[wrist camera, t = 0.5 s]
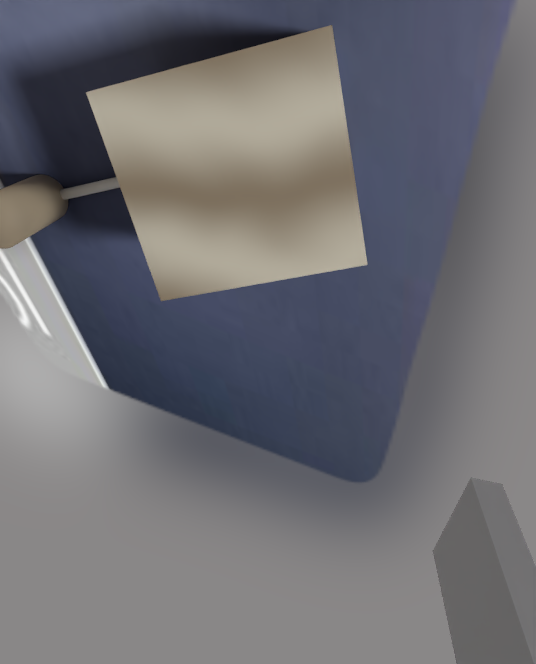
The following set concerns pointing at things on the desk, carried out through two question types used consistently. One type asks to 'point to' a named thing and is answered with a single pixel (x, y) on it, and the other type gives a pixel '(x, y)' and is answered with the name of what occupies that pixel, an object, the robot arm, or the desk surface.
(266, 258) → the small wooden stool
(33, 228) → the tan maraca
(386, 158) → the desk surface
